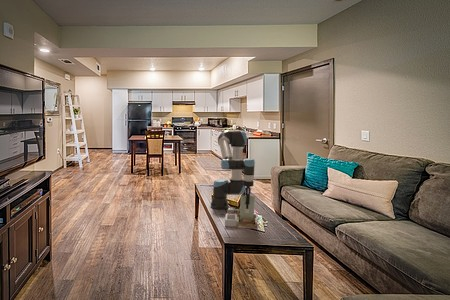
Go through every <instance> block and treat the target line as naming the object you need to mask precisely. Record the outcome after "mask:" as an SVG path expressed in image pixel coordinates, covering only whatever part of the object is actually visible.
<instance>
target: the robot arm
mask: <svg viewBox="0 0 450 300" xmlns="http://www.w3.org/2000/svg"><path fill="white" fill-rule="evenodd" d="M217 143H218V146H219V148H220V153H221V158H222V159H221V161H220V167H221V169H222V170H227V171H229V170H230V171H231V176H230V178H229V180H228V179H227V178H219V179H215V180H213V185H212V187H213V189H212V199H211V202H210V208H212V209H216V210H226V209H229V202H228V196H231V195H232V196H241V195H244V193H245V195H246V203H245V213H249V204H250V203H249V201H250V196H251V191H252V188H251V187H253V186H254V181H255V166H256V165H255V164H256V162H255V159H254V158H243V156H244V154H243V153H244V152H243V151H244V150H243V149H244V148H245V146H246V145H247V143H248V136H247V133H246V132H245V130H228V129H227V130H224V131H222V132H221V133H220V134H219V135H218V138H217Z"/></svg>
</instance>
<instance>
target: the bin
mask: <svg viewBox="0 0 450 300" xmlns="http://www.w3.org/2000/svg"><path fill="white" fill-rule="evenodd" d="M224 227H225V228H227V227H229V228H237V213H225V218H224Z"/></svg>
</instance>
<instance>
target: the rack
mask: <svg viewBox="0 0 450 300" xmlns="http://www.w3.org/2000/svg"><path fill="white" fill-rule="evenodd" d="M236 214H237V227H236V228H237V229H252V228H257V229H258V220H257V219H258V218H257V214H255V213H254V223H255V224H254V225H240V222H239V221H240V212H239V213H236Z"/></svg>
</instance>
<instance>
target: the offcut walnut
mask: <svg viewBox="0 0 450 300" xmlns="http://www.w3.org/2000/svg"><path fill="white" fill-rule="evenodd" d="M253 223H254V221H253V220H251V221H243V220H240V222H239V224H253Z"/></svg>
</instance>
